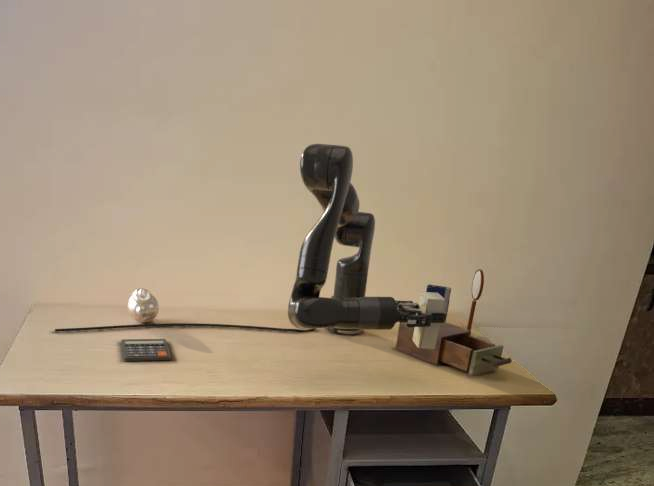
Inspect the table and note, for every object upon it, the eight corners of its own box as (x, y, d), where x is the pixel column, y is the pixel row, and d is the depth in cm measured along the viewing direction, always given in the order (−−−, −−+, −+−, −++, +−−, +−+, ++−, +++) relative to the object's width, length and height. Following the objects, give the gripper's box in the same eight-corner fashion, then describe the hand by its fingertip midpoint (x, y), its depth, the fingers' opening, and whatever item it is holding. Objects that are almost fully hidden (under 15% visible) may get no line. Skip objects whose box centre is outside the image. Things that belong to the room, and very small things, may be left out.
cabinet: (465, 358, 193) (471, 331, 189) (436, 365, 187) (441, 337, 183) (424, 343, 203) (429, 316, 200) (395, 349, 197) (399, 322, 193)
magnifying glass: (473, 342, 207) (487, 273, 197) (467, 342, 207) (481, 272, 197) (466, 333, 214) (479, 266, 204) (460, 333, 214) (474, 266, 204)
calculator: (123, 357, 174) (121, 338, 186) (124, 360, 174) (121, 342, 187) (171, 356, 177) (165, 338, 189) (171, 359, 177) (165, 341, 190)
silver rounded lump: (122, 325, 201) (120, 289, 196) (135, 316, 209) (134, 282, 204) (152, 328, 199) (151, 293, 194) (164, 320, 207) (163, 285, 202)
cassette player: (420, 323, 221) (427, 284, 215) (422, 321, 223) (428, 283, 217) (443, 327, 219) (450, 288, 213) (445, 325, 221) (452, 286, 215)
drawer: (514, 374, 182) (519, 351, 179) (487, 381, 176) (492, 357, 173) (456, 352, 195) (460, 331, 192) (430, 358, 188) (433, 336, 185)
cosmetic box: (411, 340, 174) (420, 291, 167) (429, 341, 174) (438, 292, 168) (418, 349, 168) (427, 298, 162) (436, 349, 169) (445, 299, 163)
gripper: (385, 305, 156) (454, 306, 160) (365, 289, 168) (429, 289, 172) (381, 338, 160) (448, 338, 164) (361, 319, 172) (424, 320, 176)
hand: (438, 313), depth 168 cm, fingers closed on cosmetic box, 6 cm apart
